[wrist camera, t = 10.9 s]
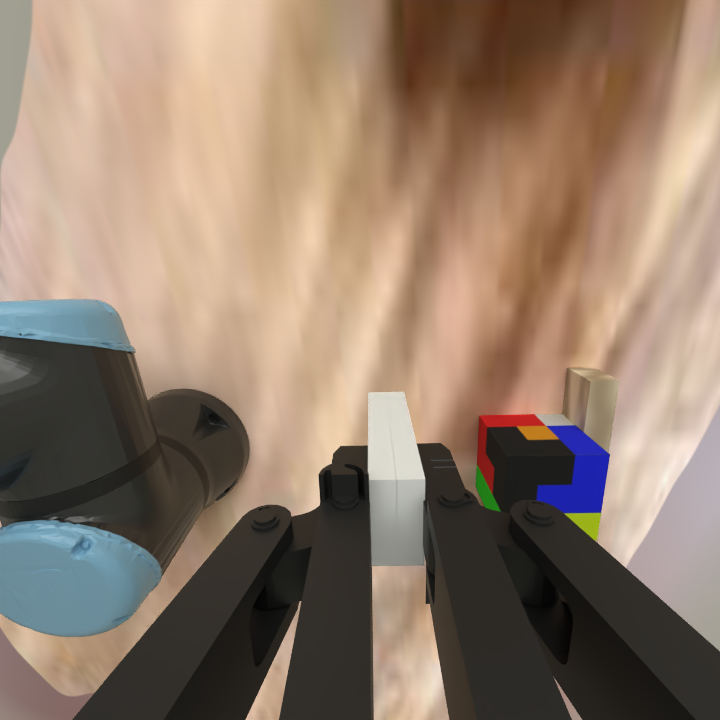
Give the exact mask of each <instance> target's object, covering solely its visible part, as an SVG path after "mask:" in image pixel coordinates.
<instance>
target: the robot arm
mask: <svg viewBox="0 0 720 720" xmlns="http://www.w3.org/2000/svg"><path fill="white" fill-rule="evenodd" d="M134 353H136V351H135V349H134V347H132V346H131V345H130V342H129V340H128V337H127V334H126V331H125V329H124V326H123V323H122V320H121V318H120V315H119V314H118V312H117V311H116V310H115V309H114V308H113V307H112V306H111V305H109V304H107V303H105V302H102V301H99V300H92V299H60V300H29V301H7V302H0V521H1V524H2V527H1V528H0V613H1V614H2V615H3V616H5V617H6V618H8V619H10V620H11V621H13V622H15V623H17V624H19V625H21V626H24V627H27V628H30V629H32V630H35V631H38V632H41V633H45V634H49V635H55V636H63V637H84V636H91V635H96V634H100V633H103V632H106V631H109V630H111V629H113V628H115V627H117V626H119V625H120V624H122V623H124V622H125V621H126V620H128V619H129V618H130V617H131V616H132V615H133V614H134V613H135V612H136V610H137V609H138V608H139V606H140V605H141V604H142V602H143V601H144V599H145V598H146V597H147V595H148V594H149V593H150V592H151V591H152V590H153V589H154V588H155V587H156V586H157V585H158V584H159V582H160V580H161V577H162V575H163V574H164V572H165V570H166V569H167V567H168V566H169V564H170V562H171V561H172V559H173V557H174V556H175V554H176V553H177V551H178V549H179V548H180V546H181V544H182V543H183V541H184V540H185V538H186V536H187V535H188V533H189V531H190V530H191V528H192V527H193V525H194V523H195V522H196V520H197V518H198V517H199V515H200V514H201V512H202V511H203V510H204V509H205V508H207V507H208V506H210V505H211V504H213V503H214V502H215V501H217V500H219V499H220V498H222V497H223V496H225V495H226V494H227V493H228V492H230V490H231V489H232V488H233V487H234V486H235V485H236V483H237V482H238V480H239V479H240V477H241V475H242V474H243V472H244V470H245V468H246V465H247V462H248V458H249V441H248V436H247V433H246V430H245V428H244V426H243V424H242V422H241V421H240V419H239V418H238V416H237V415H236V414H235V413H234V411H233V410H232V409H231V408H230V407H228V406H227V405H226V404H225V403H223V402H222V401H221V400H219V399H217V398H216V397H214V396H212V395H209V394H207V393H204V392H201V391H197V390H191V389H175V390H169V391H165V392H162V393H160V394H158V395H156V396H154V397H152V398H151V399H149V400H147V396H146V393H145V390H144V386H143V383H142V379H141V376H140V373H139V369H138V366H137V362H136V359H135V355H134ZM319 488H320V506H319V507H317V508H316V509H314V510H312V511H311V512H308V513H305V514H302V515H297V516H293V517H291V513H290V511H289V510H288V509H286V508H285V507H282V506H279V505H265V506H260V507H257V508H255V509H253V510H251V511H249V512H248V513H247V514H245V515H244V516H243V517H242V518H241V519H240V520H239V522H238V523H237V524H236V525H235V526H234V528H233V529H232V530H231V531H230V532H229V534H228V535H227V536H226V537H225V538H224V539H223V541H222V542H221V543H220V544H219V545H218V547H217V548H216V549H215V550H214V551H213V553H212V554H211V555H210V556H209V557H208V559H207V560H206V561H205V562H204V563H203V565H202V566H201V567H200V568H199V569H198V570H197V572H196V573H195V574H194V575H193V576H192V578H191V579H190V580H189V581H188V582H187V584H186V585H185V586H184V587H183V588H182V590H181V591H180V592H179V593H178V594H177V596H176V597H175V598H174V599H173V600H172V601H171V603H170V604H169V605H168V606H167V607H166V609H165V610H164V611H163V612H162V613H161V615H160V616H159V617H158V618H157V619H156V621H155V622H154V623H153V624H152V625H151V627H150V628H149V629H148V630H147V631H146V632H145V634H144V635H143V636H142V637H141V638H140V640H139V641H138V642H137V643H136V644H135V646H134V647H133V648H132V649H131V650H130V652H129V653H128V654H127V655H126V656H125V658H124V659H123V660H122V661H121V662H120V663H119V665H118V666H117V667H116V668H115V669H114V671H113V672H112V673H111V674H110V675H109V677H108V678H107V679H106V680H105V681H104V683H103V684H102V685H101V686H100V687H99V689H98V690H97V691H96V692H95V693H94V695H93V696H92V697H91V698H90V699H89V701H88V702H87V703H86V704H85V705H84V706H83V708H82V709H81V710H80V711H79V712H78V714H77V715H76V716H75V717H74V719H73V720H245V719H246V717H247V715H248V713H249V711H250V709H251V707H252V704H253V702H254V700H255V698H256V696H257V694H258V692H259V690H260V688H261V685H262V683H263V681H264V679H265V677H266V675H267V673H268V671H269V668H270V666H271V664H272V662H273V660H274V658H275V656H276V654H277V652H278V649H279V647H280V645H281V643H282V641H283V639H284V637H285V635H286V632H287V630H288V628H289V626H290V624H291V622H292V620H293V618H294V616H295V613H296V611H297V609H298V605H299V601H302V602H301V607H300V612H299V618H298V623H297V628H296V633H295V639H294V644H293V649H292V654H291V660H290V665H289V670H288V675H287V681H286V686H285V691H284V696H283V702H282V707H281V712H280V717H279V720H374V710H373V622H372V566H415V565H424V554H425V560H426V604H430V607H431V613H432V619H433V625H434V631H435V637H436V643H437V649H438V655H439V661H440V667H441V673H442V678H443V684H444V690H445V696H446V702H447V708H448V714H449V720H572V719H571V717H570V714H569V712H568V710H567V708H566V705H565V703H564V700H563V698H562V696H561V693H560V691H559V689H558V687H557V684H556V682H555V679H556V681H557V682H558V684H559V685H560V687H561V688H562V690H563V691H564V693H565V694H566V696H567V697H568V699H569V700H570V702H571V703H572V705H573V706H574V707H575V709H576V711H577V712H578V714H579V715H580V717H581V718H582V720H720V651H719V650H717V649H716V648H715V647H714V646H713V645H712V644H711V643H709V642H708V641H707V640H706V639H705V638H704V637H703V636H702V635H700V634H699V633H698V632H697V631H696V630H695V629H694V628H693V627H692V626H690V625H689V624H688V623H687V622H686V621H685V620H683V619H682V618H681V617H680V616H679V615H678V614H677V613H676V612H675V611H673V610H672V609H671V608H670V607H669V606H668V605H667V604H666V603H664V602H663V601H662V600H661V599H660V598H659V597H658V596H657V595H655V594H654V593H653V592H652V591H651V590H650V589H649V588H648V587H646V586H645V585H644V584H643V583H642V582H641V581H639V579H637V578H636V577H635V576H634V575H633V574H632V573H631V572H630V571H628V570H627V569H626V568H625V567H624V566H623V565H622V564H621V563H619V562H618V561H617V560H616V559H615V558H614V557H613V556H612V555H610V554H609V553H608V552H607V551H606V550H605V549H604V548H602V547H601V546H600V545H599V544H598V543H597V542H596V541H595V540H593V539H592V538H591V537H590V536H589V535H588V534H587V533H586V532H584V531H583V530H582V529H581V528H580V527H579V526H578V525H577V524H575V523H574V522H573V521H572V520H571V519H570V518H569V517H568V516H566V515H565V514H564V513H563V512H562V511H560V510H559V509H557V508H556V507H554V506H553V505H550V504H548V503H545V502H542V501H537V500H521V501H519V502H516V503H514V504H513V506H512V507H511V510H510V513H505V512H500V511H495V510H492V509H488V508H485V507H483V506H481V505H479V502H478V500H477V499H476V497H475V496H474V495H473V494H472V493H471V492H469V491H468V490H466V489H465V487H464V485H463V482H462V480H461V477H460V475H459V472H458V470H457V467H456V465H455V462H454V460H453V457H452V455H451V453H450V450H449V449H447V448H446V447H445V446H444V445H442V444H441V443H427V444H417V443H416V439H415V435H414V431H413V427H412V423H411V419H410V415H409V411H408V406H407V402H406V398H405V394H404V392H371V393H368V446H340V447H339V448H338V449H337V450H336V452H335V453H334V454H333V459H332V464H330V465H328V466H326V467H325V468H323V469H322V470H321V472H320V473H319ZM553 676H554V677H553ZM554 678H555V679H554Z"/></svg>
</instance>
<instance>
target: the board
mask: <svg viewBox="0 0 720 720" xmlns="http://www.w3.org/2000/svg"><path fill="white" fill-rule="evenodd" d="M618 387H619V380H617V379H615V378H613V377H611V376H609V375H607V374H606V373H604V372H602V371H600V370H598V369H596V368H594V367H580V368H567V377H566V385H565V394H564V403H563V412H562V414H563V415H564V416H565V417H566V418H567V419H569V420H570V421H571V422H572V423H573V424H575V425H576V426H577V427H578V428H579V429H581V430H582V431H583V432H584V433H585V434H586V435H588V436H589V437H590V438H591V439H592V440H594V441H595V442H596V443H597V444H598V445H599V446H601V447H602V448H603V449H604V450H605V451H607V452H609V446H610V439H611V433H612V426H613V420H614V413H615V407H616V400H617V394H618Z"/></svg>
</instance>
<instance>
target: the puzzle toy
mask: <svg viewBox="0 0 720 720" xmlns="http://www.w3.org/2000/svg"><path fill="white" fill-rule="evenodd" d="M609 457H610V454H609V453H608V452H607V451H605V450H604V449H603V448H602V447H601V446H599V445H598V444H597V443H596V442H595V441H594V440H592V439H591V438H590V437H589V436H588V435H586V434H585V433H584V432H583V431H582V430H581V429H579V428H578V427H577V426H576V425H575V424H573V423H572V422H571V421H570V420H569V419H567V418H566V417H565V416H564V415H563V414H529V415H483V416H479V434H478V453H477V473H476V488H477V491H478V493H479V495H480V497H481V499H482V502H483V504H484V506H485V508H488V509H492V510H495V511H500V512H505V513H510V510H511V507H512V506H513V504H514V503H516V502H519V501H521V500H537V501H542V502H545V503H548V504H550V505H553V506H554V507H556V508H557V509H559V510H560V511H562V512H563V513H564V514H565V515H566V516H568V517H569V518H570V519H571V520H572V521H573V522H574V523H575V524H577V525H578V526H579V527H580V528H581V529H582V530H583V531H584V532H586V533H587V534H588V535H589V536H590V537H591V538H592V539H593V540H597V536H598V529H599V523H600V516H601V510H602V503H603V497H604V490H605V483H606V477H607V470H608V464H609Z"/></svg>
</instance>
